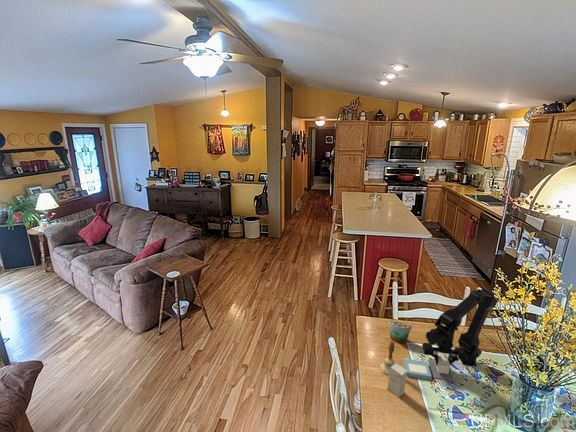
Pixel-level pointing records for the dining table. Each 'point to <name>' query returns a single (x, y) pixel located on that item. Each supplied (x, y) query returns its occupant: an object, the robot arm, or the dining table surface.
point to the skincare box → (397, 379)
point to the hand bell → (388, 360)
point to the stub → (443, 364)
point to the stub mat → (440, 375)
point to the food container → (399, 331)
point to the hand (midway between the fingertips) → (441, 365)
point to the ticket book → (417, 368)
